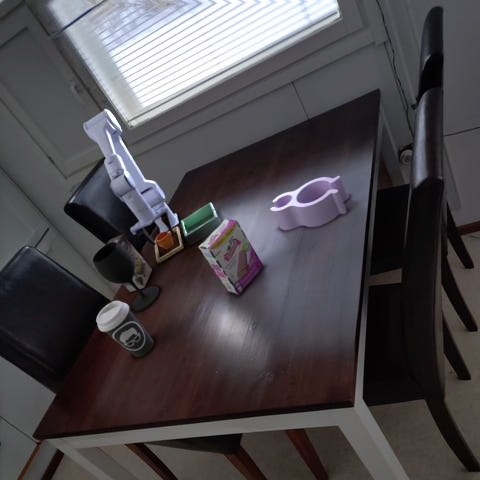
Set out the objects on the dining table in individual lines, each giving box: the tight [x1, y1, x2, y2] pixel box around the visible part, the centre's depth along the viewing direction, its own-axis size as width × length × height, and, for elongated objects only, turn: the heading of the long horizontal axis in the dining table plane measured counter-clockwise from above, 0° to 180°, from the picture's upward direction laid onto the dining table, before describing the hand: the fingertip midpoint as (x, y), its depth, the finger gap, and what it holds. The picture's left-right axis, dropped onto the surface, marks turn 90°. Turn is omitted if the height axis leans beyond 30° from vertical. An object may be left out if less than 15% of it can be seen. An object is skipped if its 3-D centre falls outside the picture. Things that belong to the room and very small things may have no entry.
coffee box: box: [106, 234, 153, 293], centre depth 147 cm, size 9×6×16 cm
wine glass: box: [92, 242, 160, 312], centre depth 137 cm, size 10×10×20 cm
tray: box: [154, 226, 184, 264], centre depth 159 cm, size 15×10×2 cm
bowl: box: [155, 230, 174, 250], centre depth 157 cm, size 5×5×4 cm
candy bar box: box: [197, 218, 265, 296], centre depth 118 cm, size 11×5×16 cm, turn 134°
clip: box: [270, 175, 350, 231], centre depth 126 cm, size 20×12×7 cm, turn 74°
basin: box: [180, 202, 222, 246], centre depth 154 cm, size 13×13×4 cm
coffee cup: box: [95, 300, 154, 358], centre depth 120 cm, size 10×10×15 cm
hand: (163, 238), depth 157 cm, fingers open, 7 cm apart
